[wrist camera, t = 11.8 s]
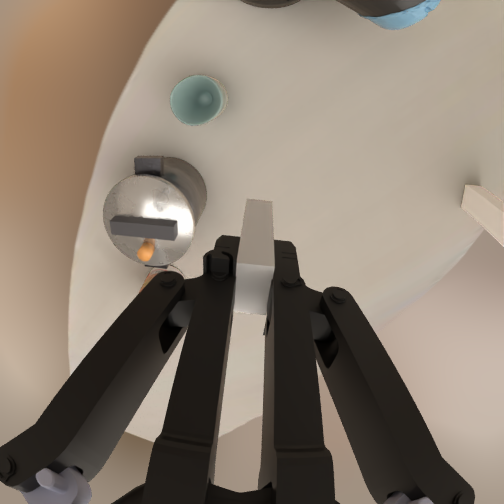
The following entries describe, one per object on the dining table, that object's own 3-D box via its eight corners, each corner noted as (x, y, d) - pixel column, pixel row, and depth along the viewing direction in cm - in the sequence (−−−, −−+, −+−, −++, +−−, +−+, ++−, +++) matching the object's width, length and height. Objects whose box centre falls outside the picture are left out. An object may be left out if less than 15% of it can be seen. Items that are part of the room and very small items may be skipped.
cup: (199, 126, 45) (184, 134, 37) (180, 90, 41) (160, 91, 33) (238, 107, 43) (231, 111, 35) (219, 70, 39) (208, 65, 31)
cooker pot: (208, 145, 47) (192, 161, 37) (206, 240, 58) (193, 275, 48) (134, 143, 47) (103, 160, 37) (141, 234, 58) (118, 266, 48)
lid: (195, 176, 38) (189, 183, 35) (195, 266, 47) (191, 278, 44) (101, 173, 38) (90, 180, 35) (114, 256, 47) (106, 266, 44)
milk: (481, 185, 46) (541, 231, 28) (476, 208, 49) (531, 259, 31) (464, 183, 47) (526, 232, 28) (460, 208, 50) (516, 261, 31)
